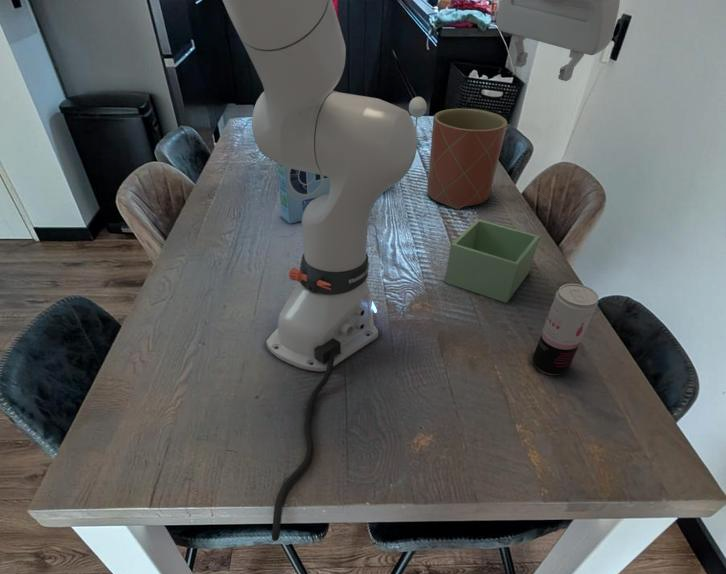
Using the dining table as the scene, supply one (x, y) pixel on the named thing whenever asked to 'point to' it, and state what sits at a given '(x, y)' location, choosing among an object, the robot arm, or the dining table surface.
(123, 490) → the dining table surface
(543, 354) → the beverage can
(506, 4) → the robot arm
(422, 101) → the lollipop
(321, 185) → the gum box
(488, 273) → the basket
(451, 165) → the planter
